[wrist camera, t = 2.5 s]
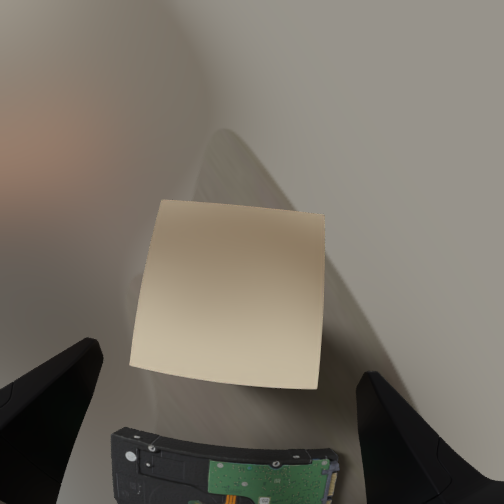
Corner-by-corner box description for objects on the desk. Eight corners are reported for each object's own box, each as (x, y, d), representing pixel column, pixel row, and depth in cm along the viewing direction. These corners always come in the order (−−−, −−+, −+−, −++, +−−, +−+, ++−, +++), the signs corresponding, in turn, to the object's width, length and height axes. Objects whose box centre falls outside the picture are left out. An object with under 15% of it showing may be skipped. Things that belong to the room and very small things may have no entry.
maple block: (271, 364, 17) (316, 389, 6) (202, 357, 17) (129, 365, 6) (276, 298, 19) (324, 214, 7) (210, 291, 19) (161, 199, 7)
